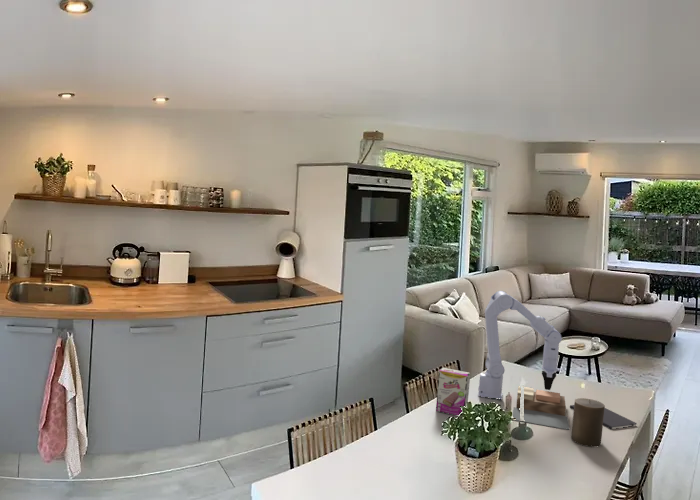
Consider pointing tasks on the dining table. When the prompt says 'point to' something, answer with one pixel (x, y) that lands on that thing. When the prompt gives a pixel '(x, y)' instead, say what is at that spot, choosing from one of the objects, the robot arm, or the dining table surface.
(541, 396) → the peach rectangular block
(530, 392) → the cream flat block
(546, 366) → the robot arm
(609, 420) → the notebook
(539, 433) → the dining table surface
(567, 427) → the mat
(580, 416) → the pillar candle
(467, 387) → the candy bar box
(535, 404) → the tan flat block
